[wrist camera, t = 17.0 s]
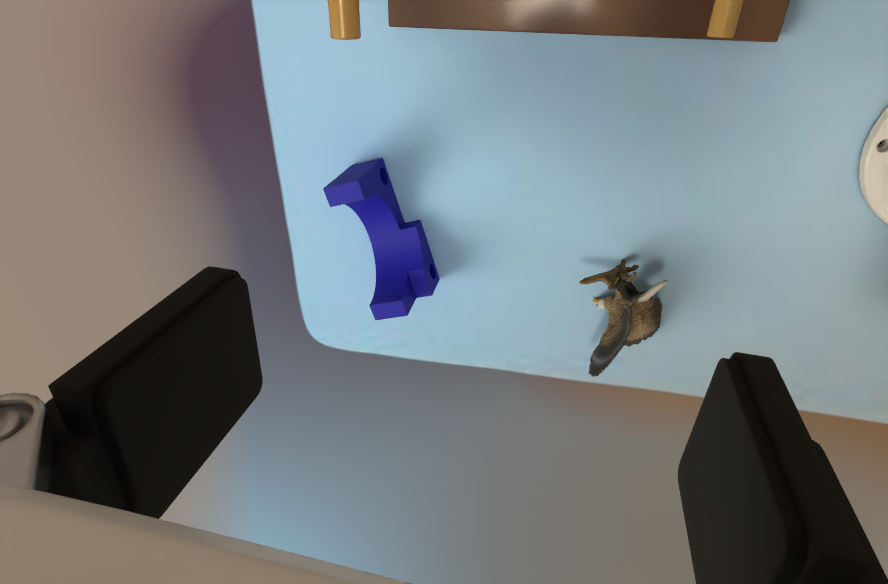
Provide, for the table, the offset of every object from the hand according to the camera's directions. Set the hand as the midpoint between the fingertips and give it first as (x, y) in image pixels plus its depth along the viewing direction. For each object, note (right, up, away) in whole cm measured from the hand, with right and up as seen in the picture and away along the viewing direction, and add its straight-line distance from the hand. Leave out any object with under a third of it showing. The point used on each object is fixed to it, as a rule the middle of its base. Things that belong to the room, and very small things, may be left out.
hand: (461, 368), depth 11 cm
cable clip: (-4, +8, +38) cm, 39 cm away
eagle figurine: (+15, +1, +37) cm, 40 cm away
